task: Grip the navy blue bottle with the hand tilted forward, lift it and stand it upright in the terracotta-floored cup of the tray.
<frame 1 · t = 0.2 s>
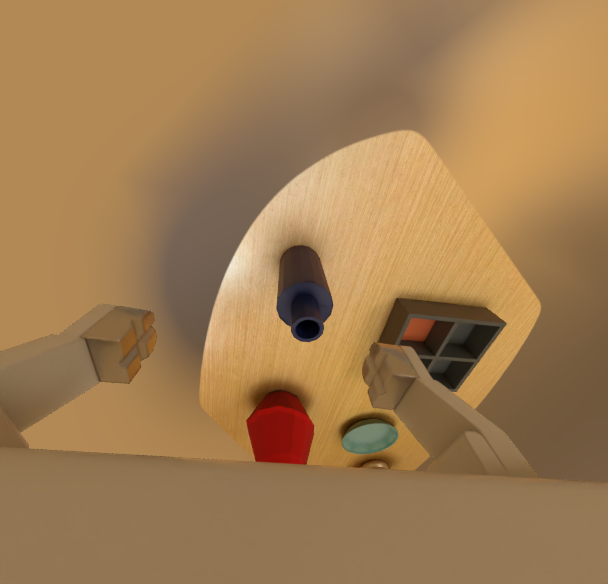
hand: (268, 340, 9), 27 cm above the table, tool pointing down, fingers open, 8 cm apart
saucer: (367, 429, 62), on the table
tray: (422, 340, 47), on the table
navy bottle: (300, 264, 37), on the table
bottle: (282, 401, 54), on the table
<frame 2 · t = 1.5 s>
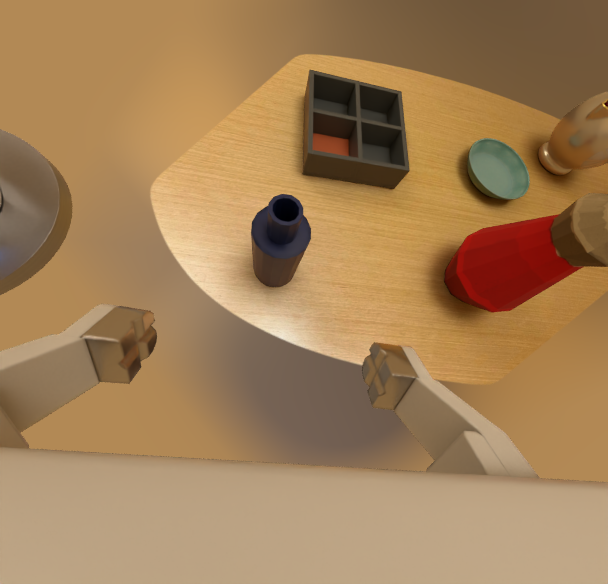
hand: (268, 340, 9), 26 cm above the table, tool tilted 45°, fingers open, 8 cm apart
saucer: (487, 177, 51), on the table
tray: (348, 142, 45), on the table
navy bottle: (274, 267, 37), on the table
teapot: (555, 162, 56), on the table
bottle: (463, 278, 43), on the table
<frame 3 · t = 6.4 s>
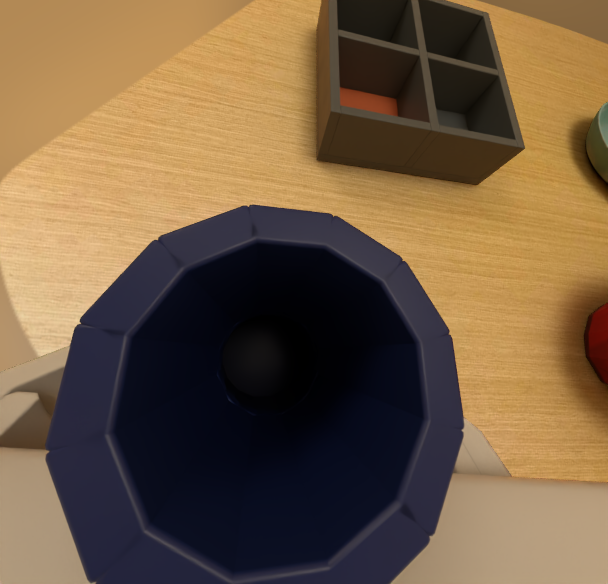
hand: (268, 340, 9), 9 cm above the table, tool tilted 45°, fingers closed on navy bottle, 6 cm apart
tray: (394, 105, 26), on the table
navy bottle: (263, 353, 17), on the table, touching gripper
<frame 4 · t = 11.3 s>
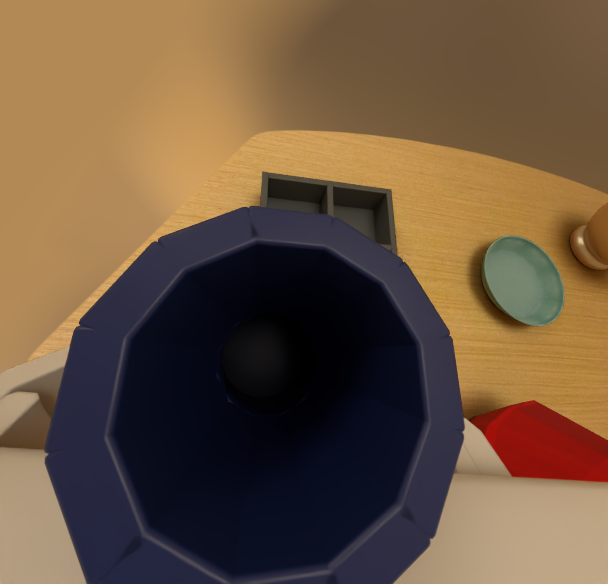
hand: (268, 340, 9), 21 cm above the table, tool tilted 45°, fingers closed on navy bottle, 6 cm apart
saucer: (507, 283, 39), on the table
tray: (321, 256, 34), on the table
navy bottle: (263, 354, 17), point 12 cm above the table, touching gripper
teapot: (591, 249, 44), on the table
bottle: (481, 450, 31), on the table
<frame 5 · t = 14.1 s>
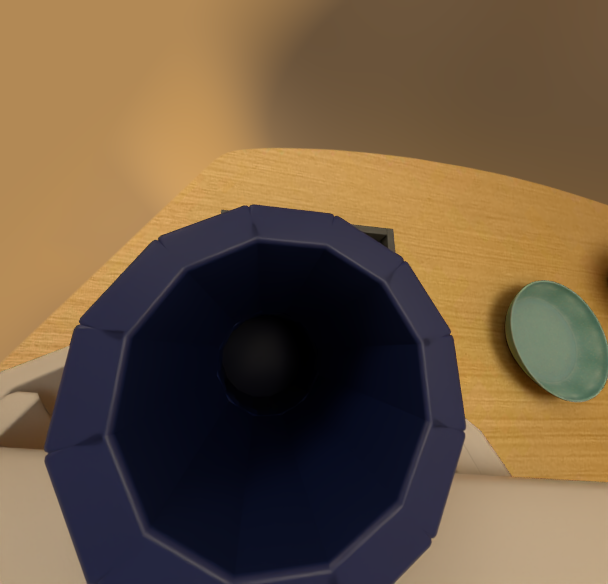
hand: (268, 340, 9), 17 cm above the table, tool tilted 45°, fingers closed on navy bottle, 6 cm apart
saucer: (536, 338, 31), on the table
tray: (303, 313, 26), on the table
navy bottle: (263, 353, 17), point 8 cm above the table, touching gripper
when the fingers open (10 cm above the table, at t = 16.5 s): navy bottle stays where it is, resting on tray.
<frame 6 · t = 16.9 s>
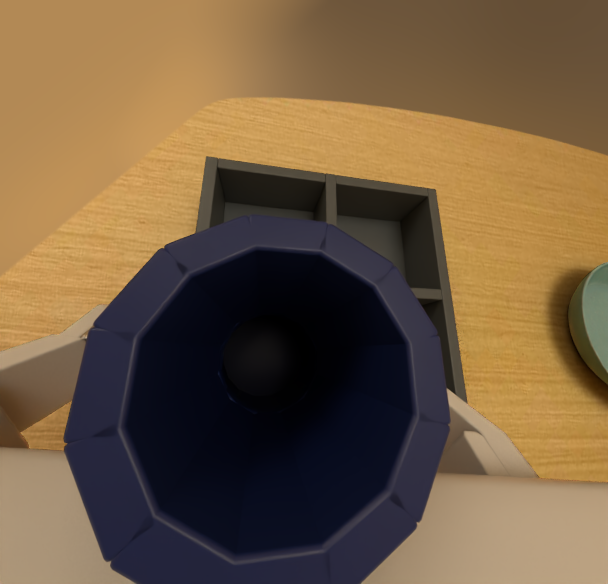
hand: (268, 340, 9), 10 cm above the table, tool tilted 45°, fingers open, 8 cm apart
saucer: (605, 334, 25), on the table
tray: (316, 302, 20), on the table
navy bottle: (264, 353, 17), point 1 cm above the table, touching tray
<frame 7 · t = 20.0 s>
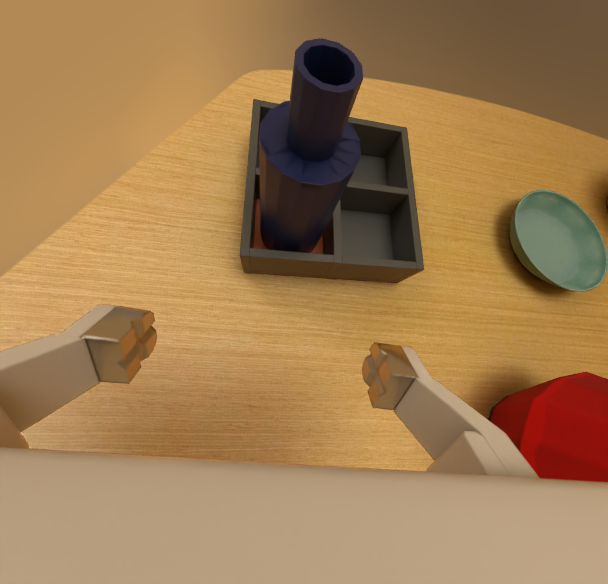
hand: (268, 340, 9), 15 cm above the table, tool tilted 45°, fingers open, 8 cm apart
saucer: (539, 246, 34), on the table
tray: (324, 208, 29), on the table
navy bottle: (290, 233, 26), point 1 cm above the table, touching tray
bottle: (516, 436, 26), on the table
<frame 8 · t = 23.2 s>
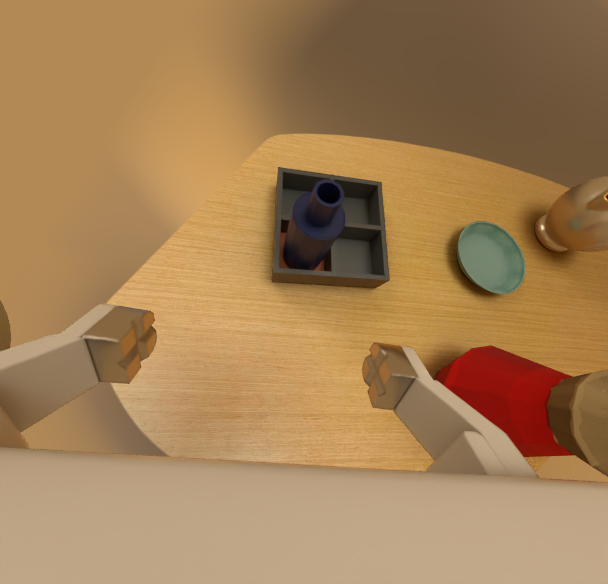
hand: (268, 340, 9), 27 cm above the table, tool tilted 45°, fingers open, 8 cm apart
saucer: (479, 261, 46), on the table
tray: (325, 236, 41), on the table
navy bottle: (302, 255, 39), point 1 cm above the table, touching tray
teapot: (553, 235, 52), on the table
bottle: (453, 390, 39), on the table
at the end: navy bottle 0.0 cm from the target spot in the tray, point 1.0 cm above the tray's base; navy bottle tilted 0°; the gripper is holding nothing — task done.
